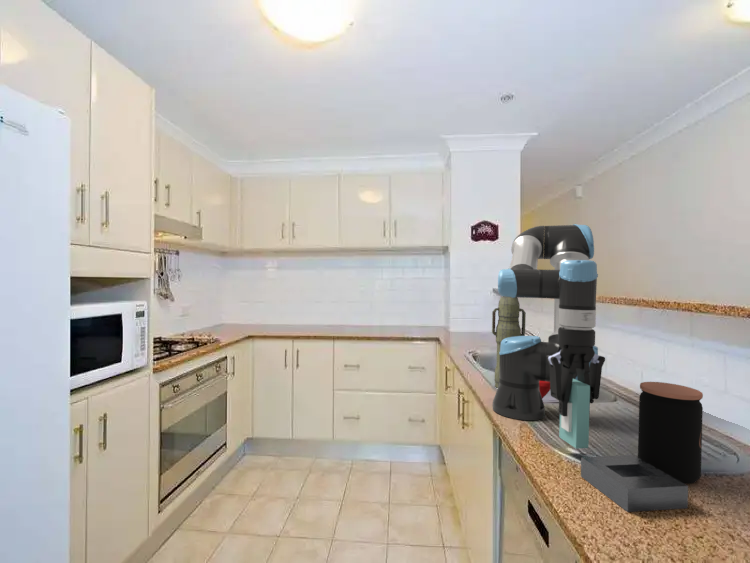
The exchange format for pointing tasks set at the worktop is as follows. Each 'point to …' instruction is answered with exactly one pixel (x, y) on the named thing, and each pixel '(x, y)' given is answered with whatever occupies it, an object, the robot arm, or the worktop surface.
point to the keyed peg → (578, 416)
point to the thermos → (506, 325)
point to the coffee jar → (671, 429)
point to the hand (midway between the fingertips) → (573, 429)
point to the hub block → (634, 483)
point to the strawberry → (544, 388)
